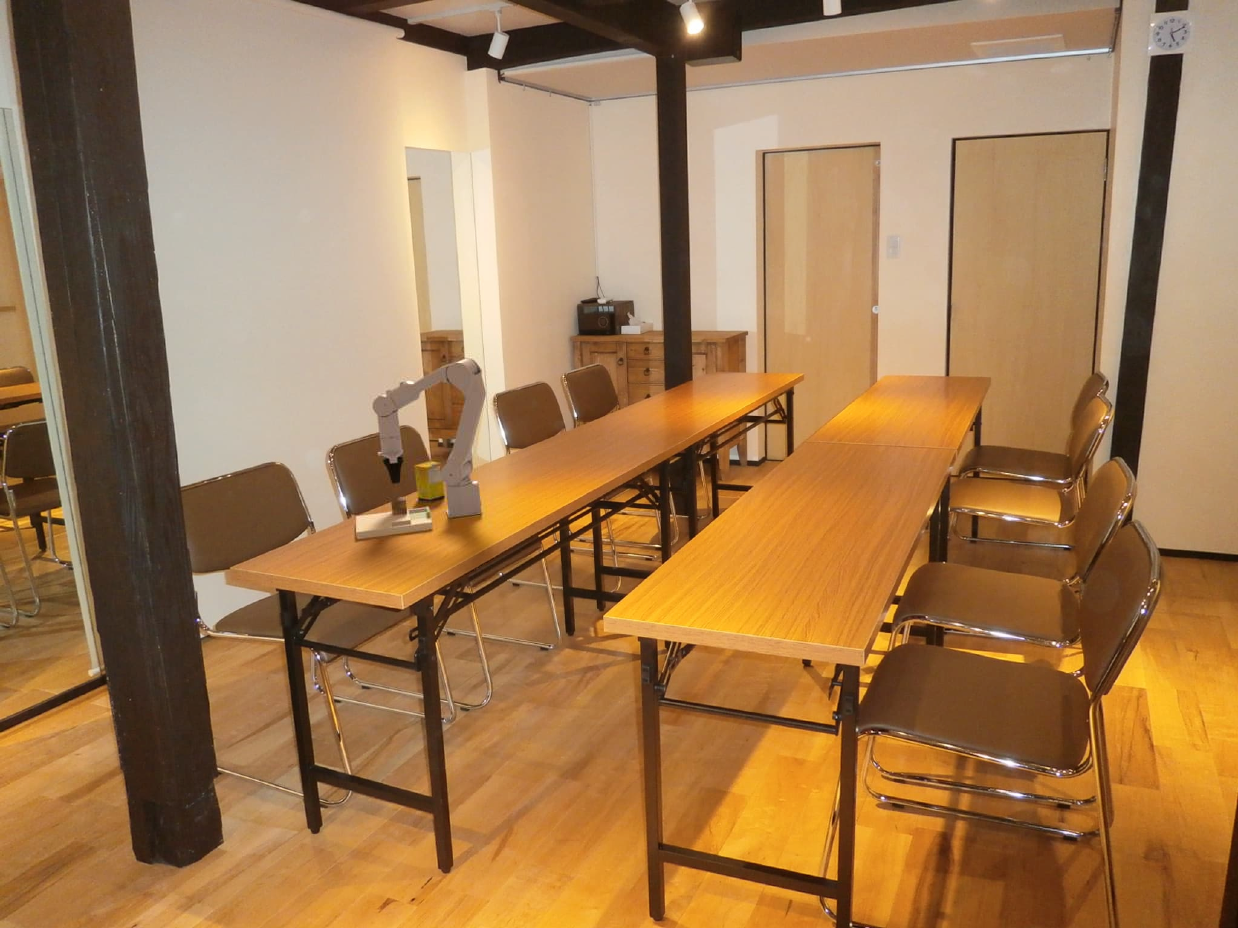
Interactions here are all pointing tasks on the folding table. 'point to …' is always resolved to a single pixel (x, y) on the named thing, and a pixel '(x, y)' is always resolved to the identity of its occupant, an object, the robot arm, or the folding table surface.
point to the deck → (393, 523)
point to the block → (399, 506)
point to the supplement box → (429, 481)
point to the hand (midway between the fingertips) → (395, 482)
